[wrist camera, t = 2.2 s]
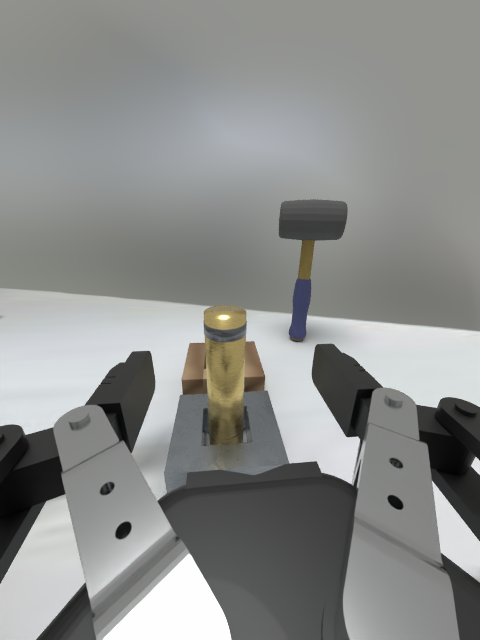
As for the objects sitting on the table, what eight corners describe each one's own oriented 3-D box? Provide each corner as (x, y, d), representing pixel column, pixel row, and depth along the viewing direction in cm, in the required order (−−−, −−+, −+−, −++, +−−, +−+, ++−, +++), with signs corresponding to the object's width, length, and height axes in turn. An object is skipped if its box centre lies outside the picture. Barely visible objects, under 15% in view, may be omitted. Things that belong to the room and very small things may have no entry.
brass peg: (209, 465, 27) (202, 321, 21) (209, 435, 31) (204, 305, 24) (244, 462, 28) (249, 320, 21) (241, 433, 32) (244, 304, 25)
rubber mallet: (321, 334, 60) (343, 201, 48) (325, 349, 53) (352, 197, 41) (271, 330, 62) (281, 200, 50) (269, 343, 55) (279, 197, 43)
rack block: (184, 407, 36) (181, 379, 34) (191, 366, 46) (189, 343, 44) (263, 403, 37) (265, 376, 35) (253, 364, 47) (254, 341, 45)
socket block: (168, 501, 24) (164, 473, 22) (182, 417, 34) (180, 395, 32) (285, 490, 25) (289, 464, 23) (265, 412, 35) (267, 390, 34)
